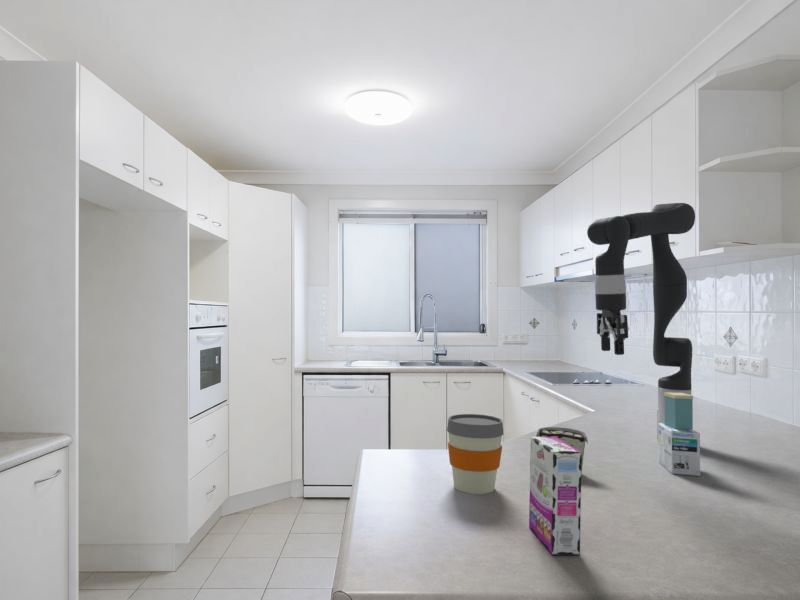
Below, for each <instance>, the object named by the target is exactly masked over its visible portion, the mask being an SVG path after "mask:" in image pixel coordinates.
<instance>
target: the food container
mask: <svg viewBox="0 0 800 600" xmlns="http://www.w3.org/2000/svg"><path fill="white" fill-rule="evenodd" d="M535 437H556V438H557V439H559V440H561V441H562V442H564V443H566V444H568V445H569V446H571V447H573V448H575V449H576V450H578V451H580V452H582V466H581V474H582V472H583V465H584V462H583V461H584V457H585V456H584V455H585V447H586V446H585V445H586V443H587V445H588V444H589V443H588V442H589V441H588V437H587V434H586V432H584V431H581V430H578V429H574V428H568V427H560V426H558V427H557V426H547V427H540V428H538V430H537V432H536V435H535Z"/></svg>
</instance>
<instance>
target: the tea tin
mask: <svg viewBox="0 0 800 600" xmlns="http://www.w3.org/2000/svg"><path fill="white" fill-rule="evenodd" d="M664 396H665V426H668V427H670V428H673V429H692V430H694V427H693V426H694V425H693V423H694V419H693V418H694V416H693V415H694V413H693V412H694V411H693V405H694V404H693V400H694V395H692V394H691V395H689V394H685V393H664Z"/></svg>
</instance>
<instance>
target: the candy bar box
mask: <svg viewBox="0 0 800 600" xmlns="http://www.w3.org/2000/svg"><path fill="white" fill-rule="evenodd" d="M529 459H530V461H529V464H530V465H529V467H530V468H529V469H530V470H529V506H528V507H529V508H528V509H529V512H528V513H529V517H528V518H529V519H528V527H529V528H530V530H531V531H532V532H533V533H534V534H535V536H536V537H537V538H538V539H539V540H540V541H541V543H542V544H543V546H545V547H546V548H547V550H548V551H549V552H550V554H551V555H553V556H577V555H578V556H579V555H581V513H582V510H581V509H582V508H581V505H582V504H581V503H582V502H581V499H582V473H581V466H582V467H583V465H582V452H580V451H578V450H576V449H575V448H573V447H571V446H569V445H568V444H566V443H564V442H562V441H561V440H559V439H557V438H556V437H539V436H538V437H536V436H531V437H530V457H529Z"/></svg>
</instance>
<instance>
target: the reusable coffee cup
mask: <svg viewBox="0 0 800 600" xmlns="http://www.w3.org/2000/svg"><path fill="white" fill-rule="evenodd" d="M503 423H504V422H503V420H502V418H499V417H496V416H492V415H486V414H479V413H478V414H477V413H475V414H474V413H461V414H455V415H454V414H453V415H450V416H448V419H447V428H446V431H447V432H448V439H449V441H448V442H447V449H448V457H449V464H450V465H451V470H452V478H453V487H454V489H456V490H457V491H459V492H462V493H466V494H471V495H485V494H489V493H492V492H494V491H495V489H496V488H495V487H496V481H497V474H498V469H499V468H500V466H501V464H500V463H501V459H502V458H501V457H502V451H503V445H502V437H503V435H504V424H503Z"/></svg>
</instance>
